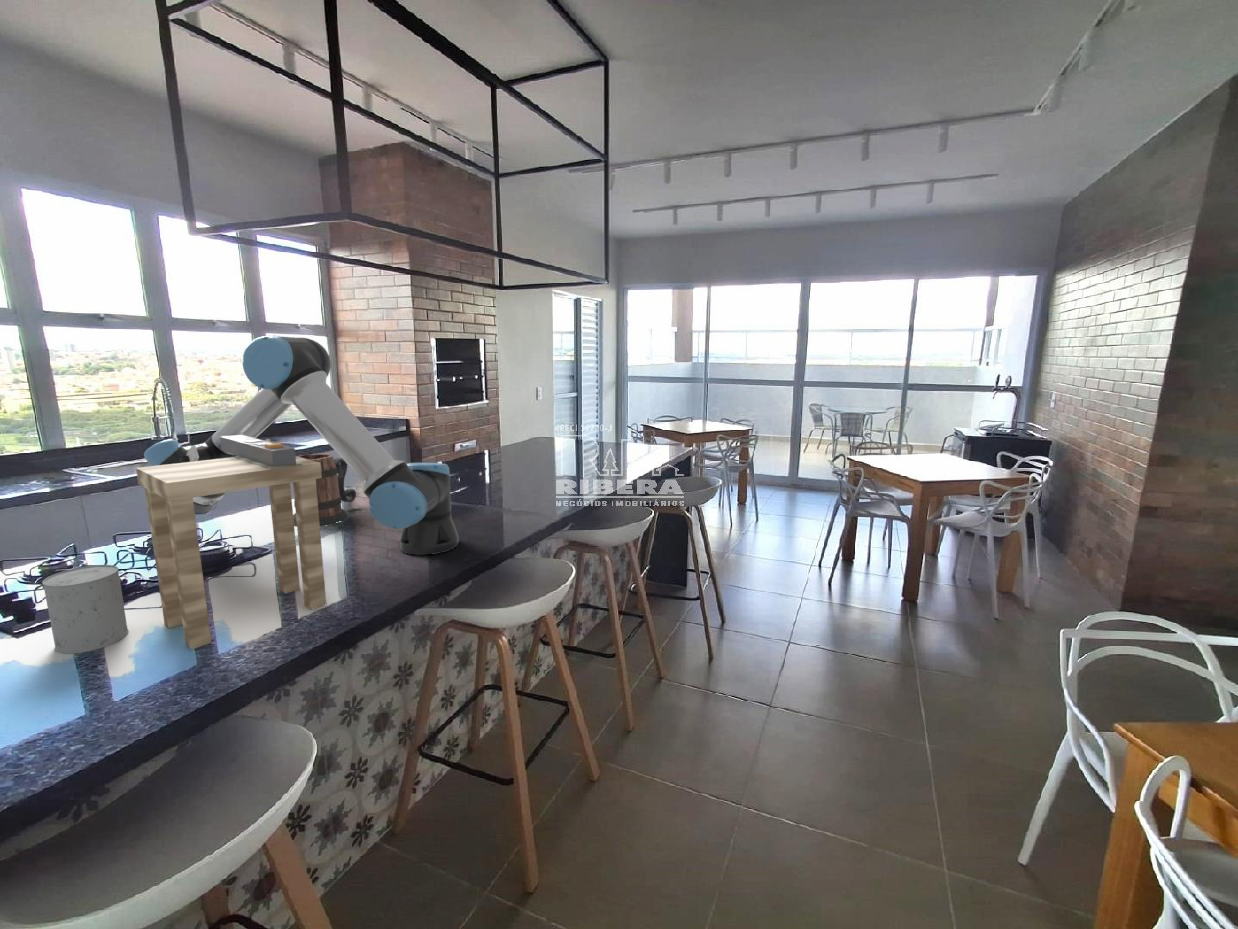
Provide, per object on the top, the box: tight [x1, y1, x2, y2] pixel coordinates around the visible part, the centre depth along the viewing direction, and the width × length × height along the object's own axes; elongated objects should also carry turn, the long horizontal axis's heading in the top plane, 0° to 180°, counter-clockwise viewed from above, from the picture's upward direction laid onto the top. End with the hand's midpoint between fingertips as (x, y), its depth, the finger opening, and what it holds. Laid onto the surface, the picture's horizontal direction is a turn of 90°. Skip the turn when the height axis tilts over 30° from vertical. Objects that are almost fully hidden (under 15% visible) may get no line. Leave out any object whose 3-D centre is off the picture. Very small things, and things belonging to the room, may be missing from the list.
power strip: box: [220, 435, 297, 467], centre depth 110 cm, size 26×4×4 cm, turn 53°
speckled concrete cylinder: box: [41, 564, 129, 655], centre depth 97 cm, size 10×10×12 cm
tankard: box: [293, 453, 357, 528], centre depth 173 cm, size 24×17×20 cm
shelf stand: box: [135, 455, 327, 650], centre depth 106 cm, size 18×24×30 cm
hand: (234, 447), depth 116 cm, fingers open, 13 cm apart
